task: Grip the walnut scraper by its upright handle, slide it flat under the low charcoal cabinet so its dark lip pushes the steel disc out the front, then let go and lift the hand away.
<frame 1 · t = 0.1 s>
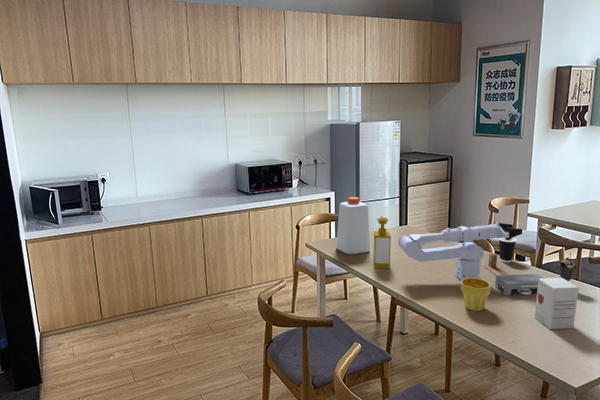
hand: (517, 229, 195), 22 cm above the table, tool horizontal, fingers open, 7 cm apart
supplement box: (553, 323, 157), on the table
dixie cup: (505, 261, 219), on the table
steel disc: (524, 293, 182), on the table
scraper: (502, 275, 200), on the table
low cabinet: (521, 290, 184), on the table
sundae: (564, 289, 185), on the table
plastic bottle: (352, 250, 238), on the table
soap bottle: (380, 263, 217), on the table
plant pot: (474, 307, 169), on the table
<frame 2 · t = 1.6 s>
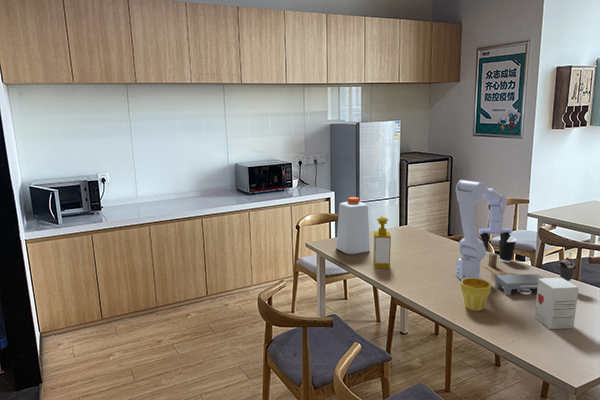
hand: (493, 248, 208), 9 cm above the table, tool pointing down, fingers open, 7 cm apart
nothing on the table moved.
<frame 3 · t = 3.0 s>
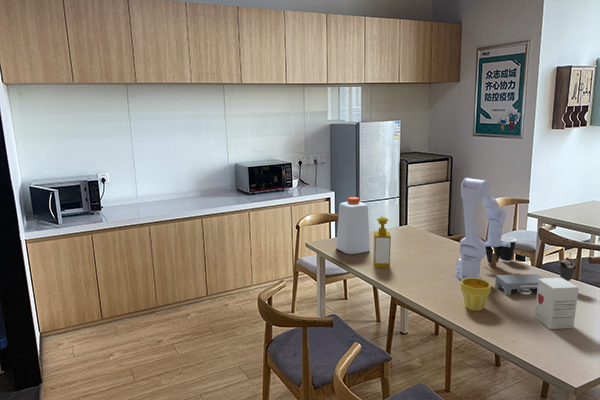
hand: (492, 261, 209), 3 cm above the table, tool pointing down, fingers closed on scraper, 2 cm apart
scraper: (502, 275, 200), on the table, touching gripper
everything else where it was.
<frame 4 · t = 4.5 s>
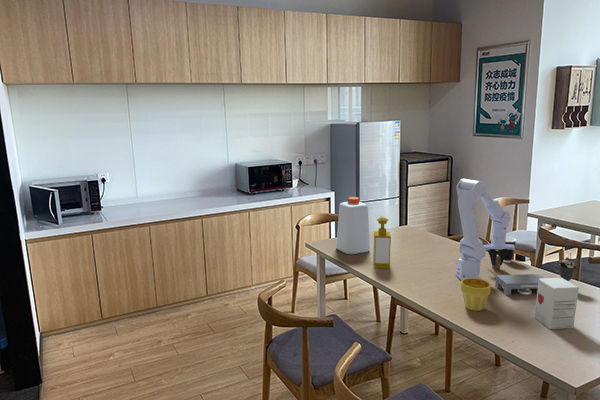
hand: (496, 264, 205), 3 cm above the table, tool pointing down, fingers closed on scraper, 2 cm apart
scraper: (506, 278, 197), on the table, touching gripper
everything else where it was.
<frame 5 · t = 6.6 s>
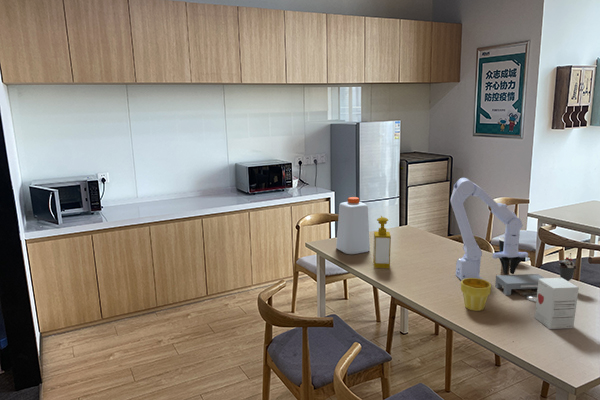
hand: (508, 273, 195), 3 cm above the table, tool pointing down, fingers closed on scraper, 2 cm apart
steel disc: (533, 299, 176), on the table
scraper: (515, 285, 189), on the table, touching gripper
everything else where it was.
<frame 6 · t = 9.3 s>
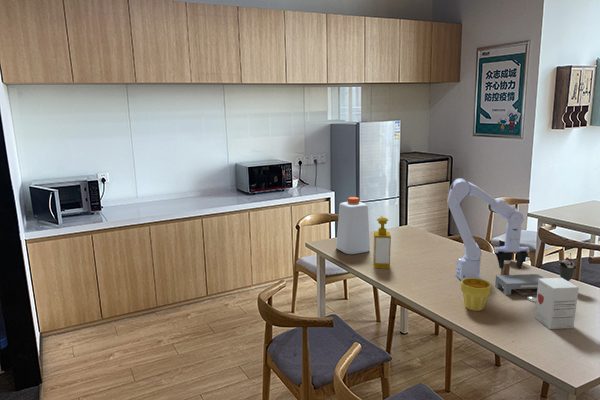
hand: (509, 268, 193), 6 cm above the table, tool pointing down, fingers open, 7 cm apart
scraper: (515, 285, 189), on the table
everything else where it was.
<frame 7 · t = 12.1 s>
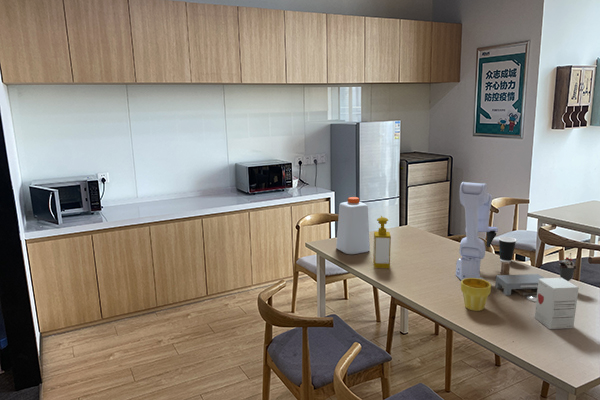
hand: (480, 246, 210), 9 cm above the table, tool pointing down, fingers open, 7 cm apart
nothing on the table moved.
at the end: steel disc inside the target area (2.8 cm from its centre), on the table; the gripper is holding nothing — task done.
